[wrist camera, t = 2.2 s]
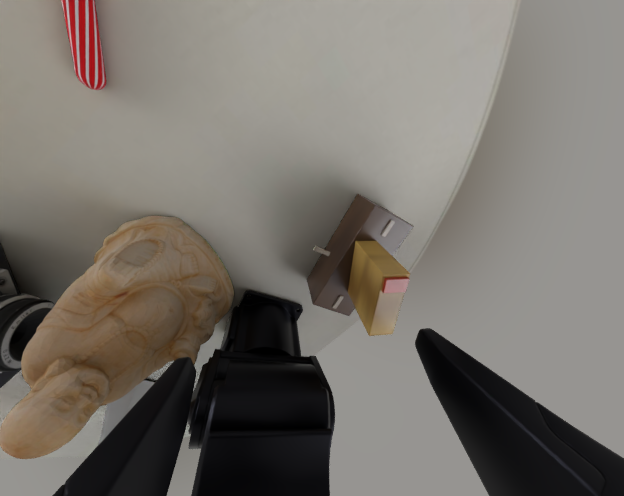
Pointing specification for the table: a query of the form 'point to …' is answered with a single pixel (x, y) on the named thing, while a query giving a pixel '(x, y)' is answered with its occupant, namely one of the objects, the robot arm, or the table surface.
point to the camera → (16, 321)
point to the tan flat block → (377, 287)
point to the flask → (122, 407)
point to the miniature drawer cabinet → (352, 251)
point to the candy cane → (85, 42)
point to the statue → (117, 329)
